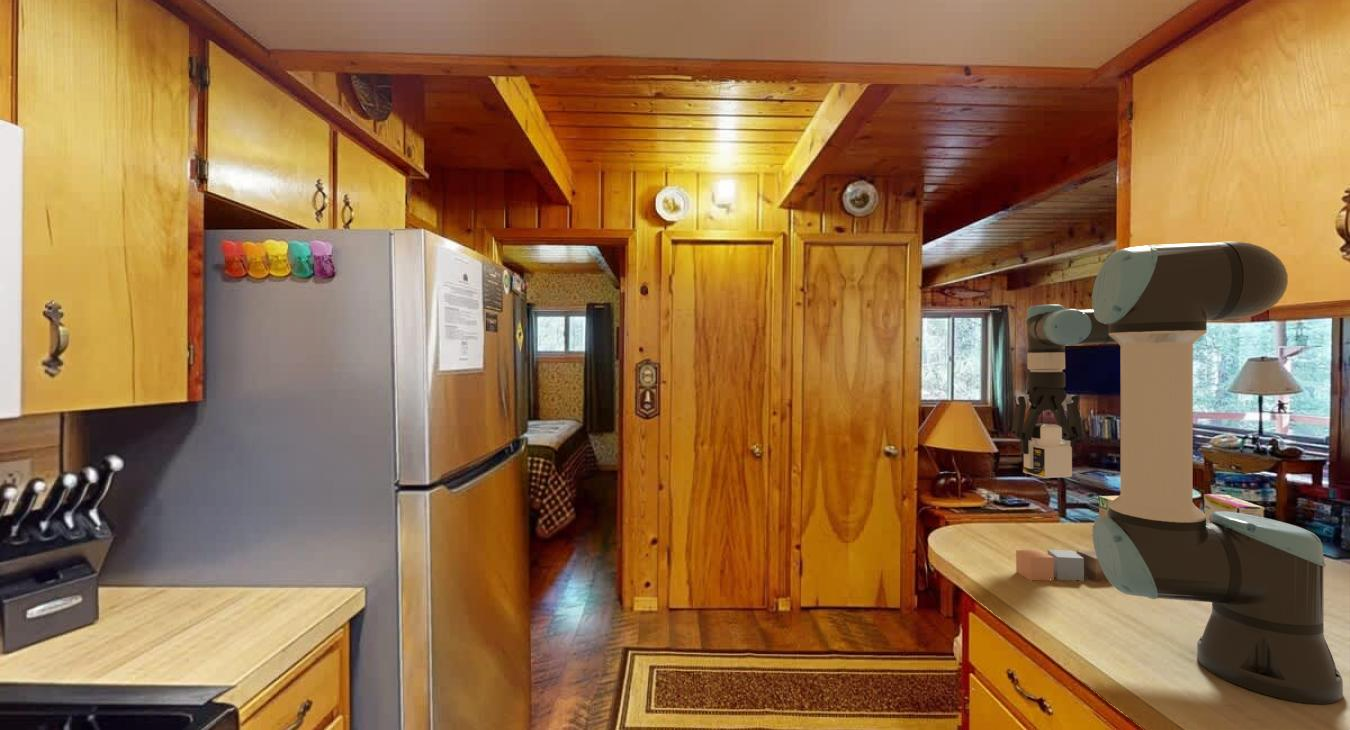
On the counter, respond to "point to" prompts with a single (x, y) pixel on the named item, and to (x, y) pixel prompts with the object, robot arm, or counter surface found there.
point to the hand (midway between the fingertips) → (1046, 467)
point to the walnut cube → (1092, 565)
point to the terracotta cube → (1035, 564)
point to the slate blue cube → (1067, 565)
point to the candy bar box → (1229, 506)
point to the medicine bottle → (1049, 453)
